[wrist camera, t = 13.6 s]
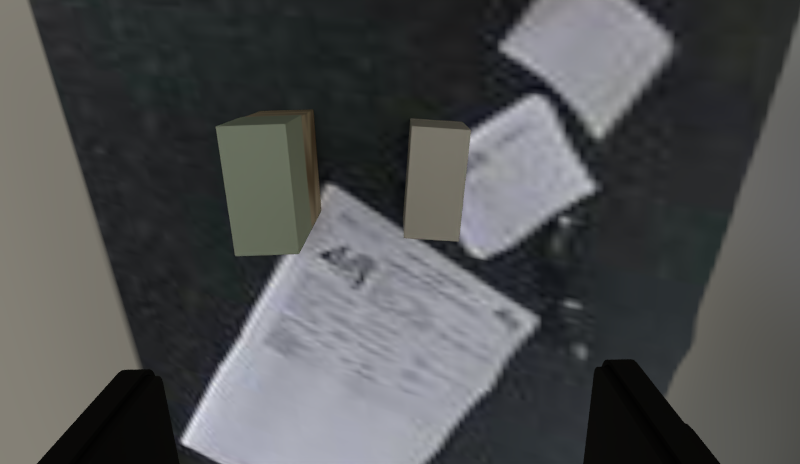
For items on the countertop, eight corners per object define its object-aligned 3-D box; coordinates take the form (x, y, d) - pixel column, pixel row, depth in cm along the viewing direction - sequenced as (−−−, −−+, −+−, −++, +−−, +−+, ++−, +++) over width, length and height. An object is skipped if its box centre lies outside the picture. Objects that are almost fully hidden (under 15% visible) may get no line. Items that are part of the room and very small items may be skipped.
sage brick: (241, 117, 34) (215, 126, 29) (301, 114, 34) (285, 123, 29) (256, 230, 36) (235, 256, 32) (312, 228, 36) (299, 253, 32)
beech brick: (260, 110, 38) (241, 118, 34) (313, 109, 38) (301, 116, 34) (272, 211, 41) (255, 231, 36) (321, 210, 41) (311, 230, 36)
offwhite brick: (410, 118, 39) (411, 126, 34) (462, 121, 39) (470, 130, 34) (403, 217, 41) (403, 238, 37) (451, 220, 41) (458, 241, 37)
